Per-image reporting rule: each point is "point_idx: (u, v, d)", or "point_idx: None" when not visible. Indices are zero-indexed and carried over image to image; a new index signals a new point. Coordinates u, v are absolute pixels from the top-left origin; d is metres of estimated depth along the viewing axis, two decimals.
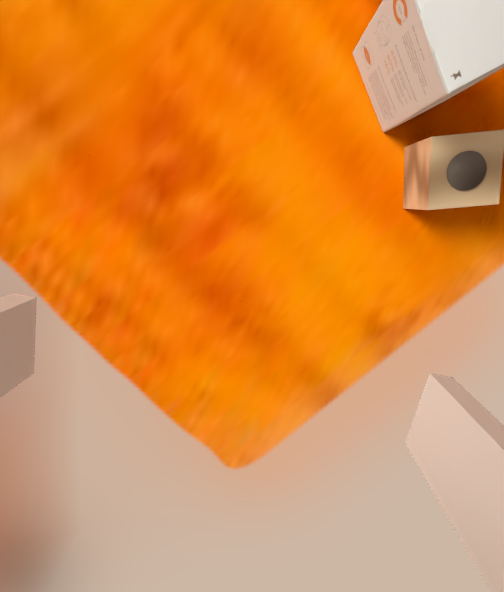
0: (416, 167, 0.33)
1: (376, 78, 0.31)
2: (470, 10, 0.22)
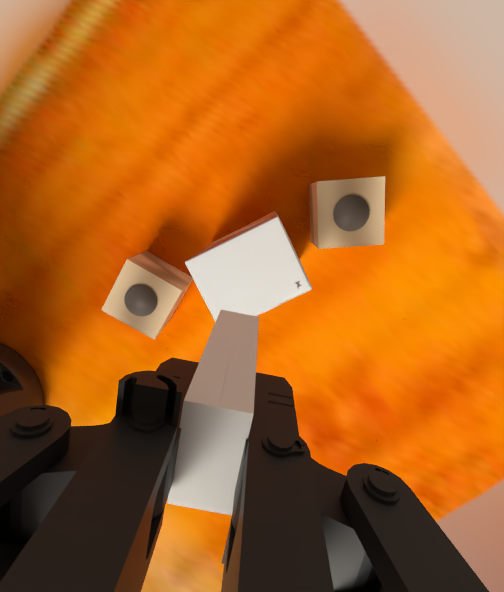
0: None
1: None
2: (252, 279, 0.27)
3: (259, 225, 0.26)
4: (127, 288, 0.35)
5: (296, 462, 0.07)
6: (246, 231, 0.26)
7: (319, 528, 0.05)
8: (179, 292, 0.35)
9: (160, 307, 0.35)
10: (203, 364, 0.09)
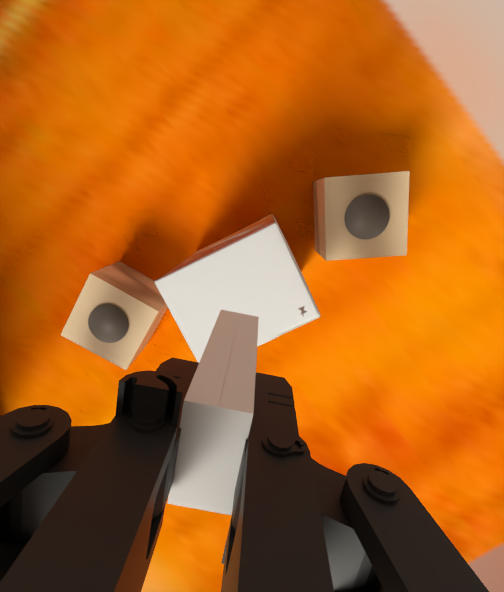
0: None
1: None
2: (243, 304, 0.21)
3: (251, 234, 0.20)
4: (91, 309, 0.29)
5: (296, 462, 0.07)
6: (234, 242, 0.20)
7: (318, 528, 0.05)
8: (155, 313, 0.29)
9: (132, 331, 0.29)
10: (203, 364, 0.09)
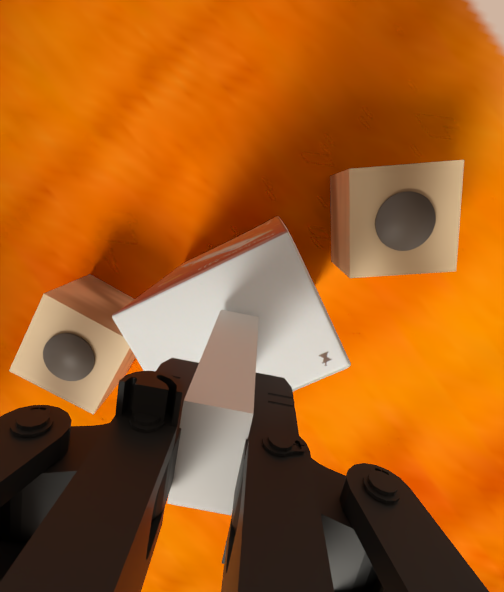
0: None
1: None
2: None
3: (251, 248, 0.13)
4: (47, 339, 0.22)
5: (296, 462, 0.07)
6: (227, 260, 0.14)
7: (319, 528, 0.05)
8: None
9: (100, 367, 0.23)
10: (203, 364, 0.09)
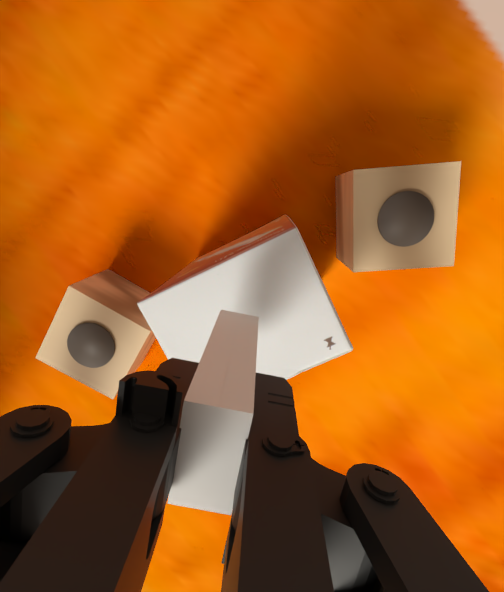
0: None
1: None
2: None
3: (263, 242, 0.15)
4: (71, 328, 0.24)
5: (295, 462, 0.07)
6: (241, 252, 0.15)
7: (318, 528, 0.05)
8: (147, 333, 0.24)
9: (119, 355, 0.24)
10: (203, 364, 0.09)
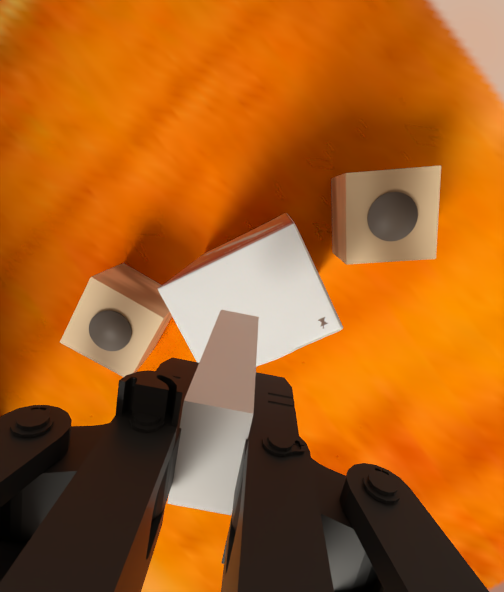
0: None
1: None
2: (256, 315, 0.19)
3: (266, 236, 0.18)
4: (92, 315, 0.27)
5: (296, 462, 0.07)
6: (247, 244, 0.18)
7: (319, 528, 0.05)
8: (160, 320, 0.27)
9: (135, 339, 0.27)
10: (203, 364, 0.09)
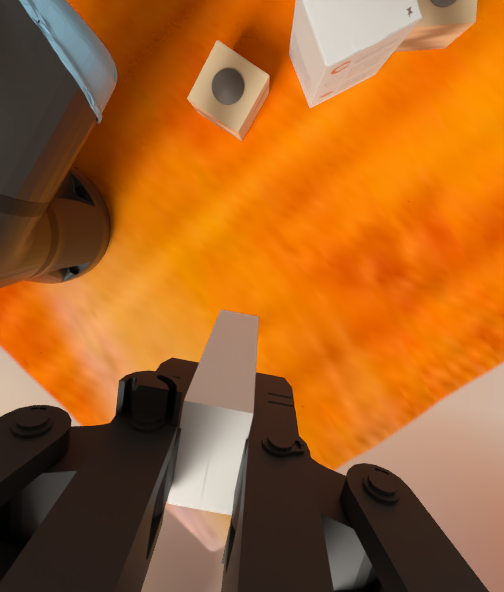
0: (421, 38, 0.36)
1: (345, 84, 0.37)
2: (364, 5, 0.27)
3: None
4: (214, 73, 0.35)
5: (296, 462, 0.07)
6: None
7: (318, 528, 0.05)
8: (267, 77, 0.35)
9: (246, 95, 0.36)
10: (203, 364, 0.09)
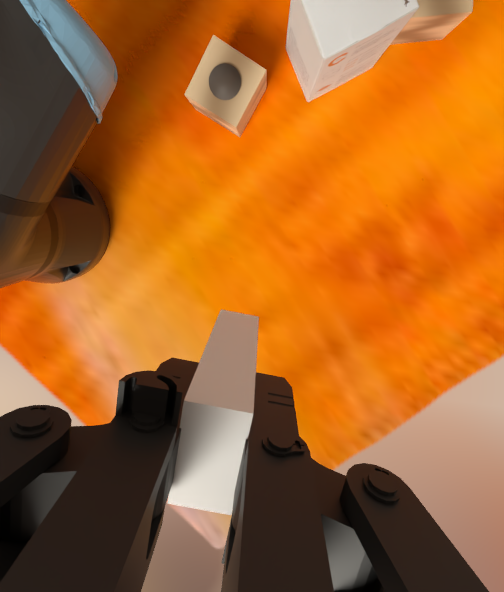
0: (418, 30, 0.36)
1: (342, 77, 0.37)
2: None
3: None
4: (211, 69, 0.35)
5: (296, 462, 0.07)
6: None
7: (319, 528, 0.05)
8: (264, 72, 0.35)
9: (243, 90, 0.36)
10: (203, 364, 0.09)
